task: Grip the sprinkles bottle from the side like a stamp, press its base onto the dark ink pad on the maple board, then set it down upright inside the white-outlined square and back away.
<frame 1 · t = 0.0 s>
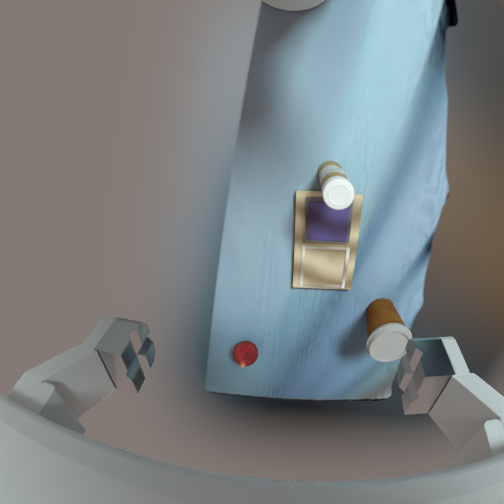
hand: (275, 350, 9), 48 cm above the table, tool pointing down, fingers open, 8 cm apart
disposable coffee cup: (380, 309, 65), on the table
sprinkles bottle: (330, 172, 53), on the table
onion: (248, 342, 75), on the table
stamp station: (325, 241, 59), on the table
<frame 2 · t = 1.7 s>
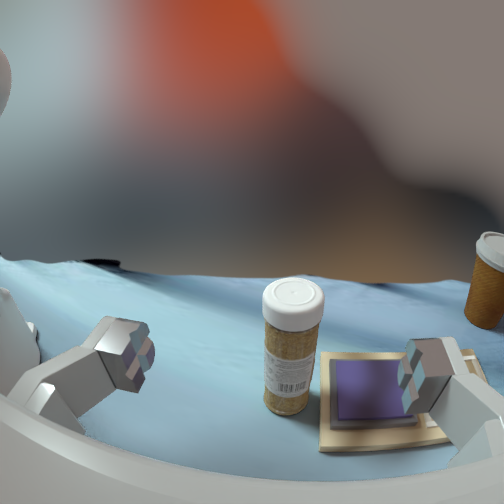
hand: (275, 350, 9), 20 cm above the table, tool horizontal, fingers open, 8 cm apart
disposable coffee cup: (480, 317, 37), on the table
sprinkles bottle: (285, 400, 29), on the table
stamp station: (411, 399, 27), on the table
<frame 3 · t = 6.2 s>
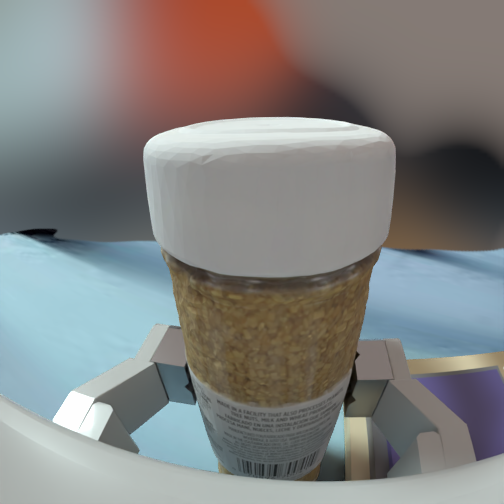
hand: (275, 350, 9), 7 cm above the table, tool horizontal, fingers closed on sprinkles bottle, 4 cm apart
sprinkles bottle: (268, 467, 12), on the table, touching gripper
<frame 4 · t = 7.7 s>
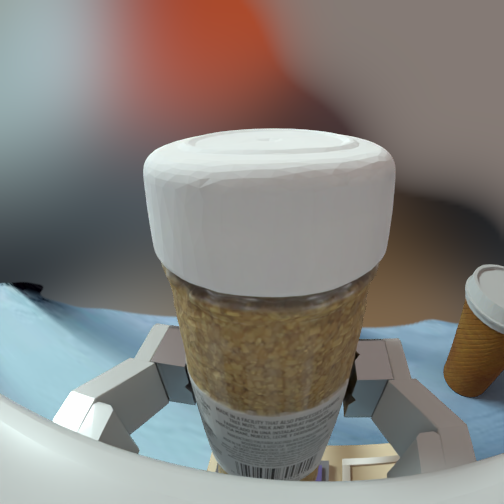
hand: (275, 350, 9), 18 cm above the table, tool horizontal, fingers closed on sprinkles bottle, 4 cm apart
disposable coffee cup: (465, 377, 27), on the table
sprinkles bottle: (267, 469, 12), point 11 cm above the table, touching gripper
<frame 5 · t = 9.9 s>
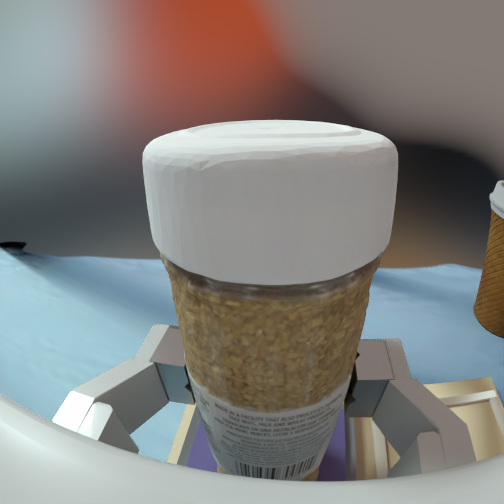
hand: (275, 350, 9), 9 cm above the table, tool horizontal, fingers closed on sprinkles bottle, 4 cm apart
disposable coffee cup: (498, 319, 22), on the table
sprinkles bottle: (267, 469, 12), point 2 cm above the table, touching gripper, stamp station
stamp station: (361, 483, 12), on the table
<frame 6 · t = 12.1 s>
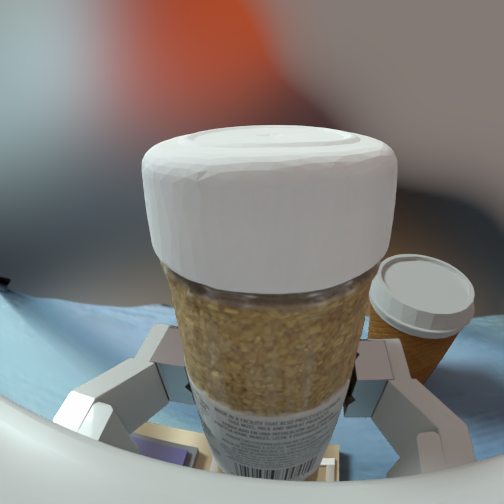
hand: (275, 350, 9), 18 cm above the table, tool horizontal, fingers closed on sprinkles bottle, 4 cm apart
disposable coffee cup: (391, 380, 27), on the table
sprinkles bottle: (267, 471, 12), point 10 cm above the table, touching gripper
stamp station: (199, 502, 17), on the table
when the fingers open (9 cm above the table, at t = 14.3 s): sprinkles bottle stays where it is, resting on stamp station.
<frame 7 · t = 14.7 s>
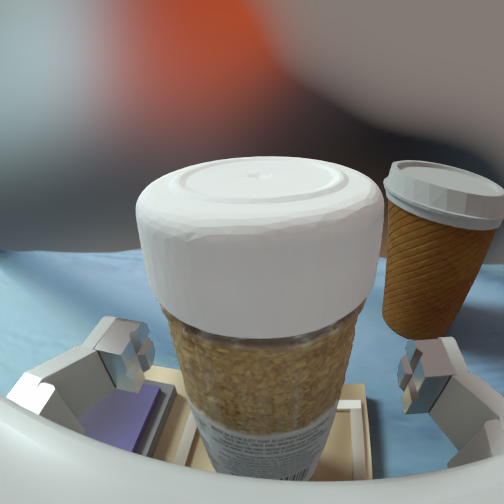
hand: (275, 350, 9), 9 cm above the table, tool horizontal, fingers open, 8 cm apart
disposable coffee cup: (415, 318, 23), on the table
sprinkles bottle: (264, 476, 12), point 1 cm above the table, touching stamp station
stamp station: (174, 464, 13), on the table
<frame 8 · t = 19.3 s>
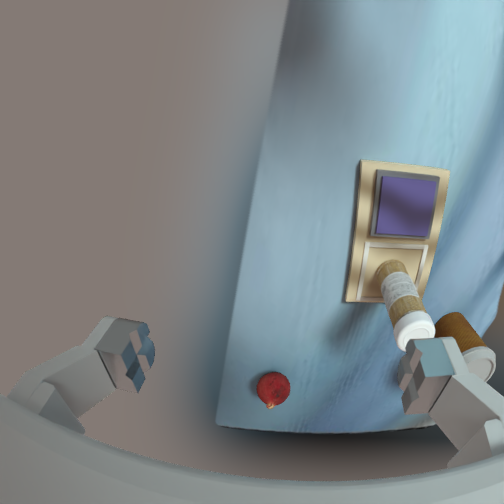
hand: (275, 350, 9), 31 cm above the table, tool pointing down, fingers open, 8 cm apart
disposable coffee cup: (448, 325, 45), on the table
sprinkles bottle: (390, 271, 40), point 1 cm above the table, touching stamp station
onion: (275, 372, 54), on the table
stamp station: (396, 236, 39), on the table
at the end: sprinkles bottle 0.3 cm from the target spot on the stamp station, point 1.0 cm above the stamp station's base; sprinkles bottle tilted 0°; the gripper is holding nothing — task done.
